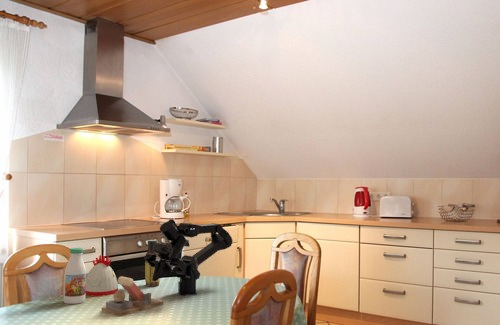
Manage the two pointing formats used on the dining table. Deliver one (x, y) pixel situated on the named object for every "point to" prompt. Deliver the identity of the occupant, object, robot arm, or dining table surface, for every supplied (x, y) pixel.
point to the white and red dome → (101, 278)
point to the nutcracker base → (134, 307)
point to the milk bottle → (75, 278)
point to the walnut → (119, 296)
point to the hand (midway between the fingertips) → (153, 280)
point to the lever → (131, 288)
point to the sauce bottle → (148, 269)
